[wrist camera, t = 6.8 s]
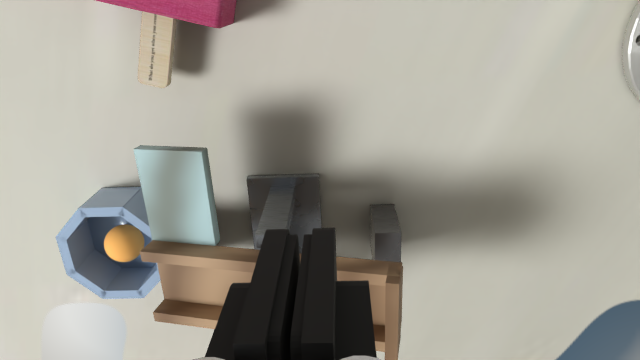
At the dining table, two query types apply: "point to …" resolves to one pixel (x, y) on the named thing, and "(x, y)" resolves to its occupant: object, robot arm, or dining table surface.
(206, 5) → the popsicle
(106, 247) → the ball
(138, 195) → the cup
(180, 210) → the lever
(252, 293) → the robot arm
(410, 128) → the dining table surface
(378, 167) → the dining table surface
